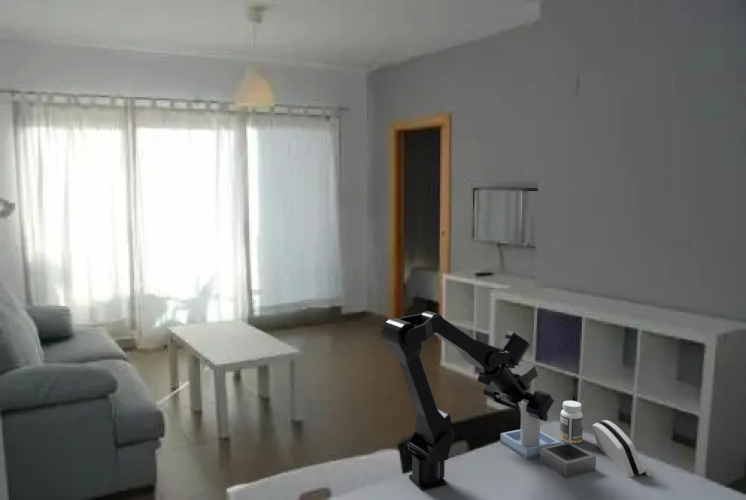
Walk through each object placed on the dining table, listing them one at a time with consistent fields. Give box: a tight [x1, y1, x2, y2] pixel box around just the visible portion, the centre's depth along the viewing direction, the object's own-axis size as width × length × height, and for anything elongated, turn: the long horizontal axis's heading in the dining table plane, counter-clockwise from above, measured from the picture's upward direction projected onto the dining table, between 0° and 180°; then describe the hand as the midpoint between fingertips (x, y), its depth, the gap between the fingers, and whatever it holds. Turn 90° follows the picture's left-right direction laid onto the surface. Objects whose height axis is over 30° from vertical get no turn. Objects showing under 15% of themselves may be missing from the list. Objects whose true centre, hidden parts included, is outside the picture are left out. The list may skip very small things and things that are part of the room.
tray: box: [500, 428, 562, 460], centre depth 149 cm, size 11×11×2 cm
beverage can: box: [520, 401, 541, 447], centre depth 148 cm, size 5×5×12 cm
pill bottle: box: [559, 400, 584, 444], centre depth 153 cm, size 6×6×10 cm
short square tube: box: [539, 441, 597, 479], centre depth 138 cm, size 9×9×4 cm
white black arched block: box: [591, 419, 651, 478], centre depth 141 cm, size 17×5×10 cm, turn 3°
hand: (531, 414), depth 149 cm, fingers open, 9 cm apart
